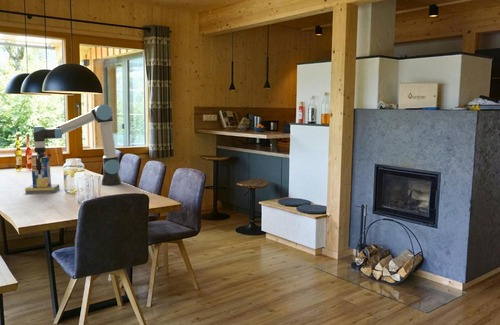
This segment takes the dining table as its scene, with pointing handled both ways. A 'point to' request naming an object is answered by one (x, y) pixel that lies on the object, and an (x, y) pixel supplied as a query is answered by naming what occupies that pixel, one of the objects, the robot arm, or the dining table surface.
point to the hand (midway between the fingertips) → (42, 177)
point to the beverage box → (45, 172)
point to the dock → (42, 189)
